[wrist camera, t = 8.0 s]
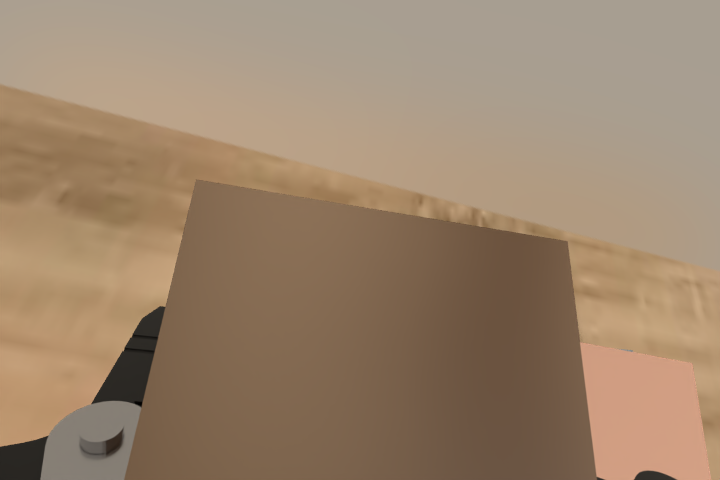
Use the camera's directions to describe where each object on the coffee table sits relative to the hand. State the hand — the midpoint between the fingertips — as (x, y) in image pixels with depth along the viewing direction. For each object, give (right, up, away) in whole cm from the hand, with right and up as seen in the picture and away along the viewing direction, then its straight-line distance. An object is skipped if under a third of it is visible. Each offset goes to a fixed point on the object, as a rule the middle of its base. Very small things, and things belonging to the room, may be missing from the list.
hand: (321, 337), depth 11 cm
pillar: (-1, -3, +3) cm, 5 cm away
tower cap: (+13, -8, +14) cm, 21 cm away
